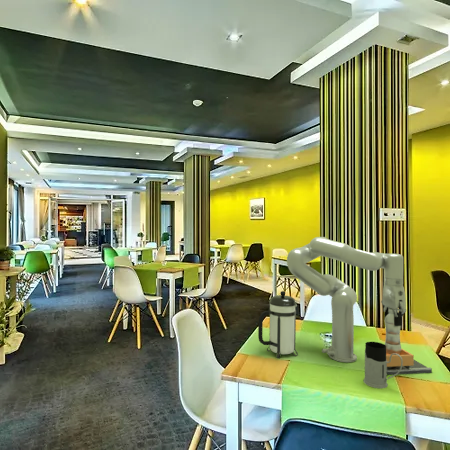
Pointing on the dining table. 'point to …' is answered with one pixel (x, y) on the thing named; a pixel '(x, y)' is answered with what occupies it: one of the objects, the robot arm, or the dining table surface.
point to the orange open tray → (396, 360)
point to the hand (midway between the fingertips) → (392, 322)
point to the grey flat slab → (410, 369)
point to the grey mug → (377, 365)
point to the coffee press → (280, 325)
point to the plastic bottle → (392, 334)
